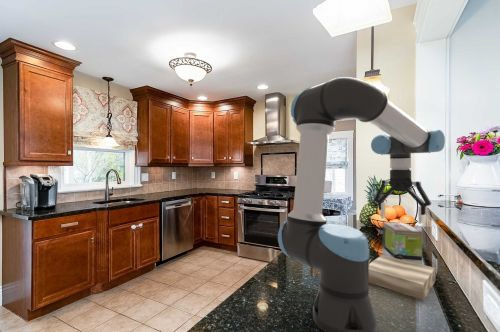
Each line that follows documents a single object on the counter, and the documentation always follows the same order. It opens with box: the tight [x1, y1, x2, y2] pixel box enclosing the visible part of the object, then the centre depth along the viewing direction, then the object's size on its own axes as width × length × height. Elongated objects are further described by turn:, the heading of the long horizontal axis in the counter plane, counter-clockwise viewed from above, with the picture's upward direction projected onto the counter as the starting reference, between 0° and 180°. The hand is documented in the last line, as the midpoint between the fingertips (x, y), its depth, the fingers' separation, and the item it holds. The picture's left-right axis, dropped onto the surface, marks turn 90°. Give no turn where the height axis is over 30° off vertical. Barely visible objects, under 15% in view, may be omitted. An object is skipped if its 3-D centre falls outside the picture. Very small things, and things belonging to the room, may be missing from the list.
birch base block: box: [369, 254, 436, 301], centre depth 84 cm, size 17×17×5 cm
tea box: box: [382, 221, 423, 265], centre depth 101 cm, size 15×10×15 cm
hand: (400, 220), depth 101 cm, fingers open, 13 cm apart
